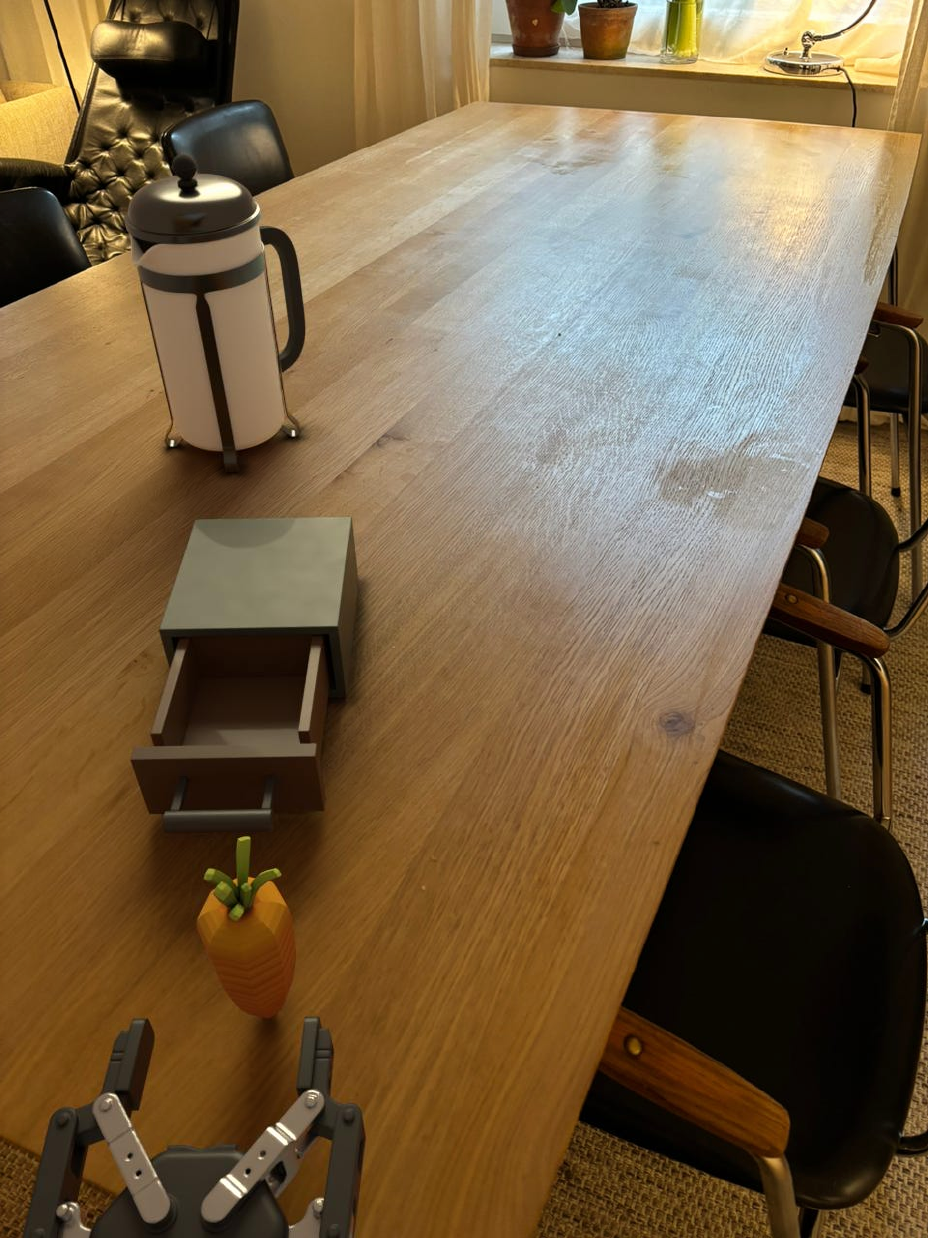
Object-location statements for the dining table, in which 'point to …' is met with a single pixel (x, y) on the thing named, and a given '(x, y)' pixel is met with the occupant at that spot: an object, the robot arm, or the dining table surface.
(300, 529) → the cabinet
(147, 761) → the drawer
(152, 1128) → the dining table surface
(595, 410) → the dining table surface
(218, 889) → the carrot
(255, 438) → the coffee press
